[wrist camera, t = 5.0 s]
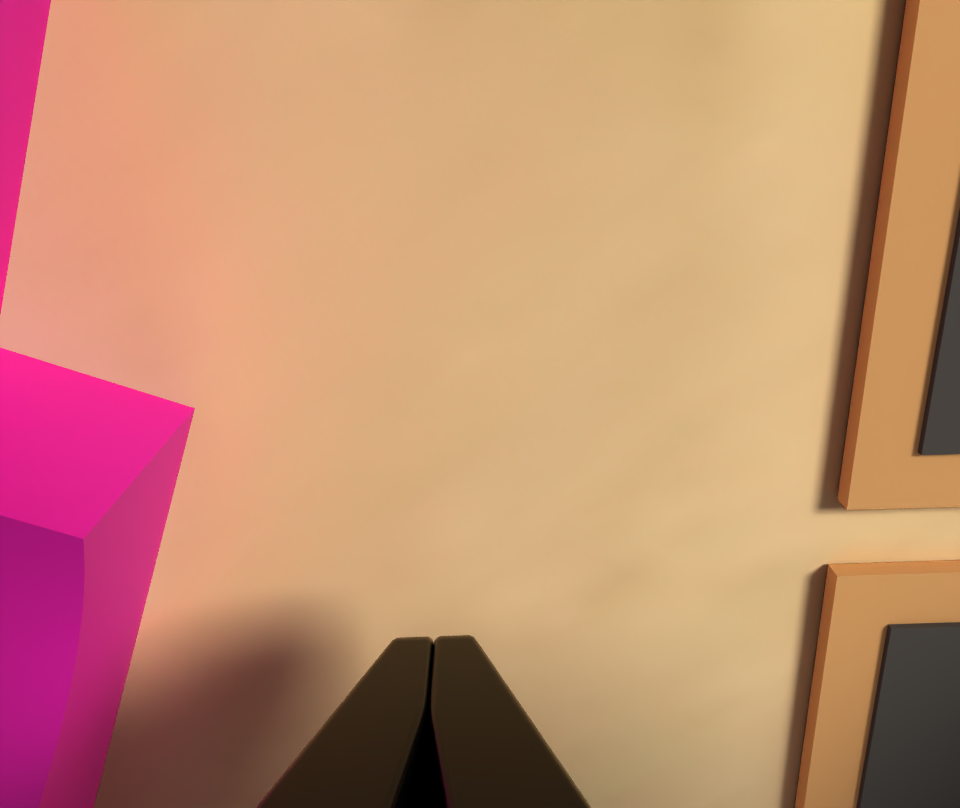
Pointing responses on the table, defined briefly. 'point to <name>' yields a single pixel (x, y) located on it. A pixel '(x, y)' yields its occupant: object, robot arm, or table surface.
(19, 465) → the toy block
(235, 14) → the table surface
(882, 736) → the pit traps
